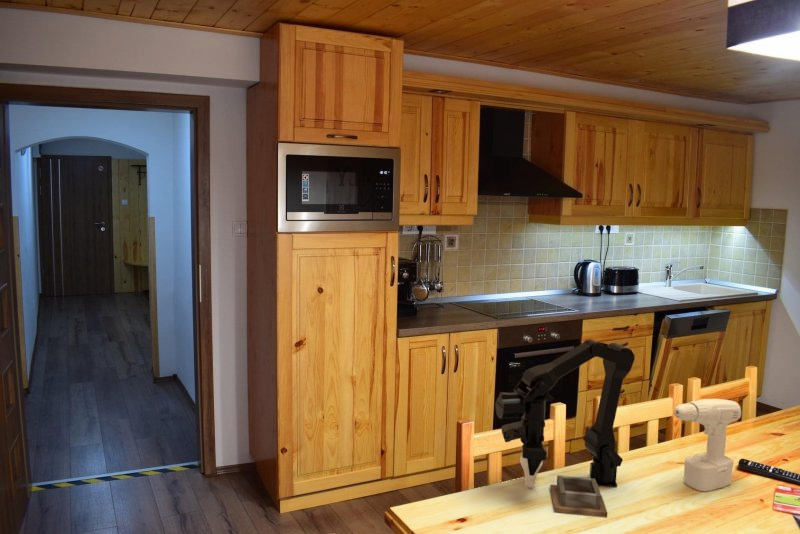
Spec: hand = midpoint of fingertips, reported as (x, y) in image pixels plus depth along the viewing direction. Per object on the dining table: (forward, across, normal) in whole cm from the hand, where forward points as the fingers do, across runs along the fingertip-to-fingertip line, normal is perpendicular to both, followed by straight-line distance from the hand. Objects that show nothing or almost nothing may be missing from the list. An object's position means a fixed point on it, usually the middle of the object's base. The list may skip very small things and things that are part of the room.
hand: (530, 470), depth 177 cm
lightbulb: (+5, 0, 0) cm, 5 cm away
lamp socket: (+5, +6, +12) cm, 14 cm away
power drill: (+5, -11, +48) cm, 49 cm away
